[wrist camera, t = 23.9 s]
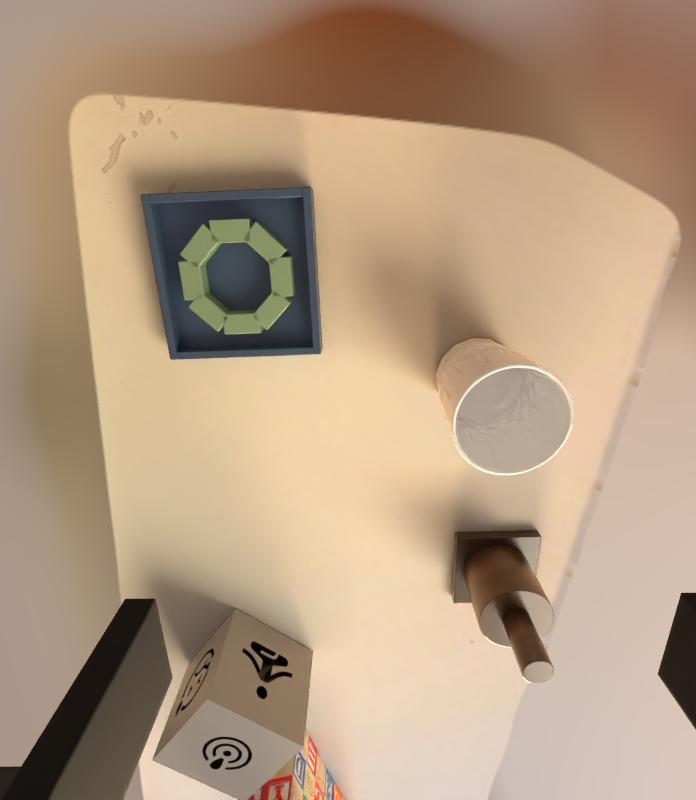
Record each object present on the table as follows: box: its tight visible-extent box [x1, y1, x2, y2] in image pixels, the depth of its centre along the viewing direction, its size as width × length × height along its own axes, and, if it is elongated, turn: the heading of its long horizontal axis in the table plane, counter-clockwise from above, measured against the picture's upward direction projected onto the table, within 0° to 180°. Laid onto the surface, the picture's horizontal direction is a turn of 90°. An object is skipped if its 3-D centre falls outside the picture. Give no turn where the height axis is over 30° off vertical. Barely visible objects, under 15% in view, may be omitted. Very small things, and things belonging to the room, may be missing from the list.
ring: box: [178, 219, 295, 334], centre depth 35 cm, size 8×8×2 cm
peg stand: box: [452, 530, 554, 683], centre depth 40 cm, size 8×8×12 cm
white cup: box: [436, 338, 574, 475], centre depth 34 cm, size 8×8×10 cm
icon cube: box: [153, 609, 313, 800], centre depth 46 cm, size 10×10×10 cm
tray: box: [141, 187, 322, 359], centre depth 36 cm, size 12×12×2 cm
